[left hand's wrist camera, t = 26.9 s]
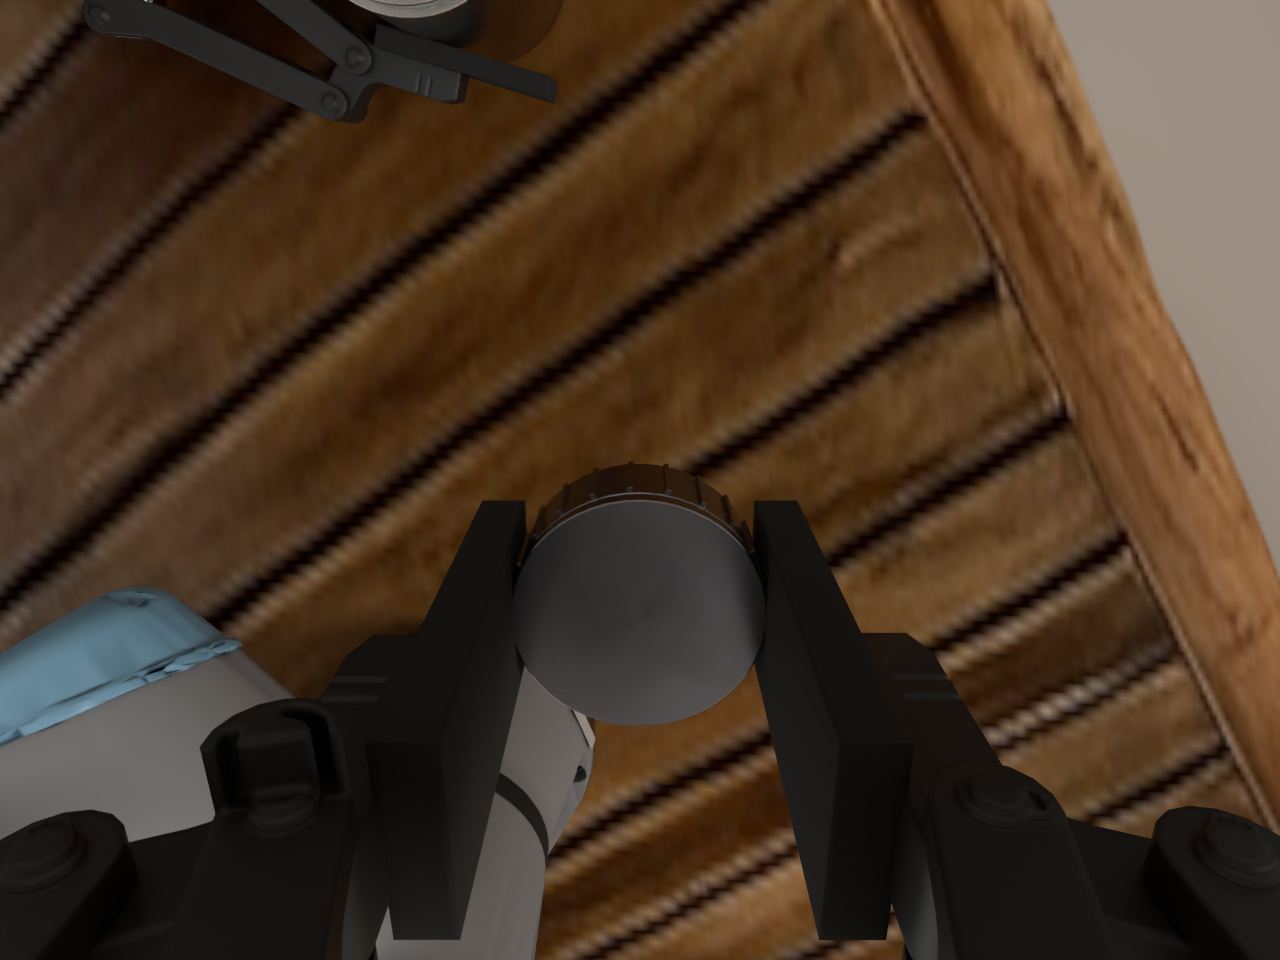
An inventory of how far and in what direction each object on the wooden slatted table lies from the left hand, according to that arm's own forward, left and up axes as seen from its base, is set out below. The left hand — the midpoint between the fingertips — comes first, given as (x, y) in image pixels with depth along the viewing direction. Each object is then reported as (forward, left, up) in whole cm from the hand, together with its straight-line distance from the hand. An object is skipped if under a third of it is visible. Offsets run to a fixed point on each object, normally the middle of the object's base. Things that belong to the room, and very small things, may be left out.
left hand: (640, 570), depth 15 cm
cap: (0, 0, +1) cm, 1 cm away
